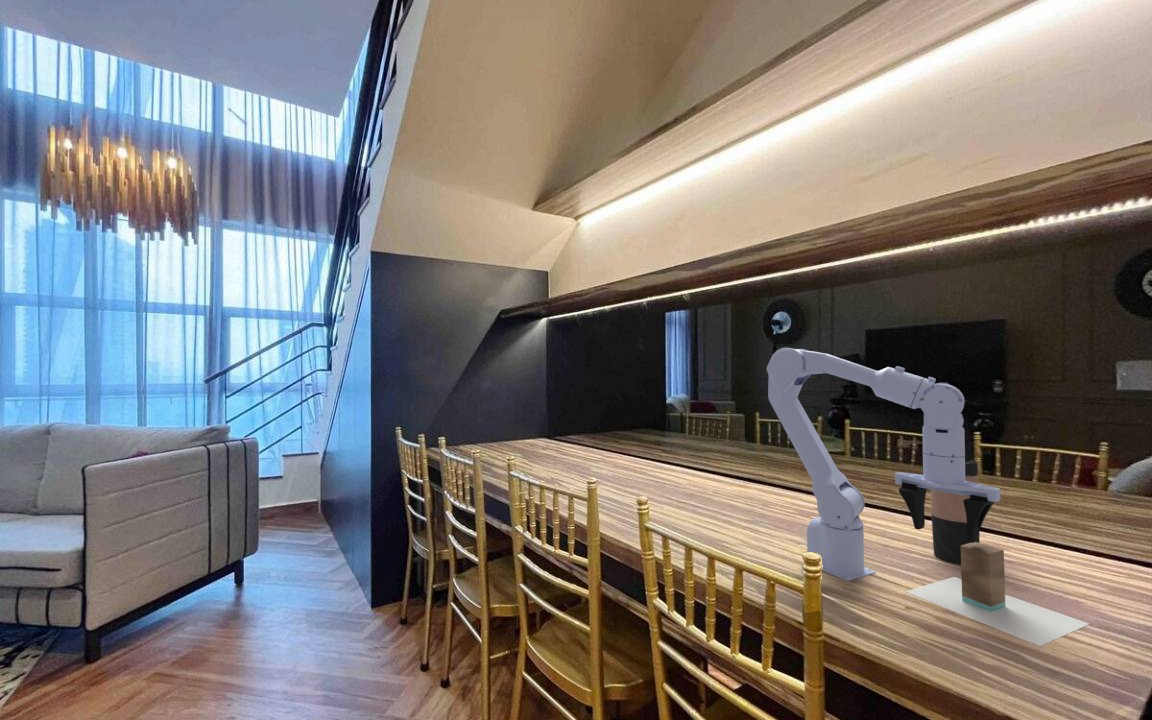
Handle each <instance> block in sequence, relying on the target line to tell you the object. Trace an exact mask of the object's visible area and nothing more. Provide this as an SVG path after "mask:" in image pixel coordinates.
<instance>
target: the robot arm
mask: <svg viewBox="0 0 1152 720" xmlns="http://www.w3.org/2000/svg"><path fill="white" fill-rule="evenodd" d="M905 369H906V368H905V367H901V366H898V365H897V366H895V368H894V367H890V366H887V367H885V368H882V369H880V370H876V369H873V368H870V367H867V366H864V365H861V364H859V363H855V362H852V361H850V360H847V359H843V358H840V357H838V356H834V355H832V354H830V353H829V354H828V353H824V352H819V351H811V350H807V349H804V348H796V349H795V348H791V347H782V348H779V349H777V350H776V351H775V352H774V353H772V355H771V357H770V360H769V362H768V364H767V366H766V372H767V374H768V381H767V382H768V384H767V385H768V386H767V388H768V390H767V394H768V395H767V398H768V401H769V403H770V405H771V407H772V409H773V411H774V412H775V414H776V416H777V419H779V422H780V423H781V425H782V428H783V429H784V432H786V435H787V437H788V438H789V440H790V442H791V444H792V445H793V447H794V450H795V451H796V454H797V455H798V457H799V458H800V460H801V463H802V464H803V466H804V468H805V469H806V471H807V474H808V475H809V478H810V479H811V482H812V483H811V486H812V493H813V496H814V497H815V500H816V503H817V506H816V507H817V512H818V515H819V516H817V517H814V518H813V519H811V520H810V522H809V523H808V524H807V528H806V545H807V546H806V548H807V550H806V551H807V552H814V553H818V554H820V555H821V557H822V565H823V571H822V572H826V573H828V574H830V575H833V576H835V577H838V578H839V579H841V580H844V581H847V582H849V581H852V580H856V579H860V578H863V577H867V576H871V575H875V574H876V573H877V572H876V570H873V569H870V568H868V567H865V542H864V541H865V538H864V537H865V536H864V535H865V534H864V532H865V531H864V530H865V529H864V523H863V520H861V518H860V514H862V512H863V511H864V508H865V498H864V495H863V494H862V493H861V491H860V490H859V489H857V488H856V487H855V486H854V485H852V484H851V482H850V481H849V479H848V478H847V476H846V475H845V474H843V472H841V471H840V470H839V468H838V467H837V466H836V464H835V462H834V460H833V458H832V456H831V455H830V453H829V451H828V450H827V448H826V446H825V444H824V443H823V441H822V439H821V436H820V435H819V434H818V432H817V430H816V428H815V426H814V425H813V423H812V421H811V420H810V418H809V416H808V414H807V412H806V410H805V409H804V407H803V405H802V403H801V401H800V400H799V394H800V392H801V390H802V387H803V385H804V383H805V382H806V381H807V380H808V378H810V377H811V375H819V374H829V375H832V376H834V377H835V376H836V377H838V378H841V379H845V380H848V381H852V382H855V383H857V384H862V385H864V386H868V387H870V388H871V389H872V391H873V393H874V395H875V397H878V398H881V399H884V400H887V401H890V402H893V403H895V404H899V405H900V406H904V407H907V408H910V409H913V410H916V409H921V411H922V412H923V426H922V427H921V429H922V465H923V466H922V467H923V468H922V473H923V474H918V473H910V472H902V471H899V472H895V473H894V484H895V485H900V486H901V487H898V493H899V494H900V496H901V497H902V499H903V501H904V502H905V504H906V506H907V508H908V511H909V514H910V516H911V517H910V518H911V519H912V523H913V527H914V530H923V529H924V528H925V523H926V518H925V517H926V515H925V503H926V495H927V489H928V490H931V489H932V490H937V491H943V492H948V493H953V494H959V495H964V496H970V498H968V499H965V500H963V503H964V507H965V511H966V518H967V542H970V543H974V542H976V541H978V535H979V531H981V528H982V525H983V523H984V520H985V518H986V516H987V515H988V513H989V512H990V510H991V508H992V507H993V506H994V504H995V503H997V502H1000V501H1001V488H999V487H994V486H988V485H985V484H980V483H978V484H976V483H972V482H968V481H965V462H966V450H965V449H966V447H965V446H966V445H965V440H966V439H965V428H964V427H963V426H964V421H965V420H964V417H963V413H962V411H963V409H964V408H965V407H964V406H965V397H964V395H963V392H961V390H960V389H959V388H957V387H956V386H954V385H951V384H949V382H938V383H936V378H934V377H932V376H928V378H926V377H922V376H919V375H915V374H913V373H909V372H906V371H905ZM952 489H953V490H952ZM807 552H806V553H807Z"/></svg>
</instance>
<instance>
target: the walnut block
mask: <svg viewBox="0 0 1152 720" xmlns="http://www.w3.org/2000/svg"><path fill="white" fill-rule="evenodd" d="M1004 551H1005V550H1004V549H1002V548H999V547H994V546H990V545H988V544H983V543H980V542H979V543H977V542H974V543H969V544H965V545H961V565H960V567H961V568H960V571H961V572H960V573H961V574H960V576H961V577H960V579H962V601H964V602H966V603H969V604H972V605H974V606H977V607H979V608H982V609H985V610H987V611H990V612H993V611H995V610H998V609H1001V608H1003V607H1005V595H1006V582H1005V577H1006V576H1005V552H1004Z"/></svg>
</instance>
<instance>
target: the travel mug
mask: <svg viewBox="0 0 1152 720" xmlns="http://www.w3.org/2000/svg"><path fill="white" fill-rule="evenodd" d="M978 469H979V468H978V462H977V461H975V460H973V459H970V460H969V461H965V481H968V482H972V483H976V484H979V471H978ZM952 490H953V489H952ZM968 498H970V496H964V495H959V494H953V493H948V492H943V491H937V490H932V489H930V507H931V508H930V509H931V510H930V512H931V513H930V514H931V517H930V518H931V528H932V532H931V533H932V546H933V555H934V557H935V558H937V559H939V560H941V561H943V562H946V563H951V564H955V565H959V566H961V545H965V544H969V543H970V542H967V518H966V511H965V507H964V503H963V500H965V499H968ZM980 531H981V530H980ZM980 531H979V535H978V541H976V542H977V543H980V537H981V536H980V535H981V533H980Z"/></svg>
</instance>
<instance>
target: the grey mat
mask: <svg viewBox="0 0 1152 720" xmlns="http://www.w3.org/2000/svg"><path fill="white" fill-rule="evenodd" d="M904 592H905V593H907V594H910V595H911V596H914V597H917V598H919V599H921V600H925V601H926V602H929V603H931V604H934V605H936V606H939V607H942V608H944V609H946V610H948V611H952V612H954V613H956V614H959V615H961V616H964V617H966V618H969V619H971V620H973V621H976V622H979V623H982V624H983V625H986V626H988V627H990V628H992V629H996V630H998V631H1001V632H1003V633H1005V634H1008V635H1010V636H1012V637H1015V638H1017V639H1020V640H1023V641H1025V642H1028V643H1031V644H1032V645H1035V646H1038V647H1043V646H1044V645H1047V644H1049V643H1051V642H1054V641H1055V640H1058V639H1061V638H1062V637H1064V636H1067V635H1068V634H1071V633H1074V632H1075V631H1077V630H1080V629H1081V628H1084V627H1087V626H1088V625H1090V623H1088V622H1086V621H1083V620H1080V619H1078V618H1074V617H1071V616H1069V615H1066V614H1063V613H1061V612H1057V611H1054V610H1051V609H1048V608H1046V607H1042V606H1041V605H1037V604H1033V603H1032V602H1028V601H1025V600H1022V599H1019V598H1017V597H1014V596H1010V595H1008V594H1005V607H1003V608H1001V609H998V610H995V611H993V612H990V611H987V610H985V609H982V608H979V607H977V606H974V605H972V604H969V603H966V602H964V601H962V578H959V577H956V576H951V577H949V578H945V579H942V580H938V581H935V582H932V583H928V584H926V585H925V584H924V585H922V586H920V587H919V586H918V587H916V588H913V589H909V590H906V591H904Z"/></svg>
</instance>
